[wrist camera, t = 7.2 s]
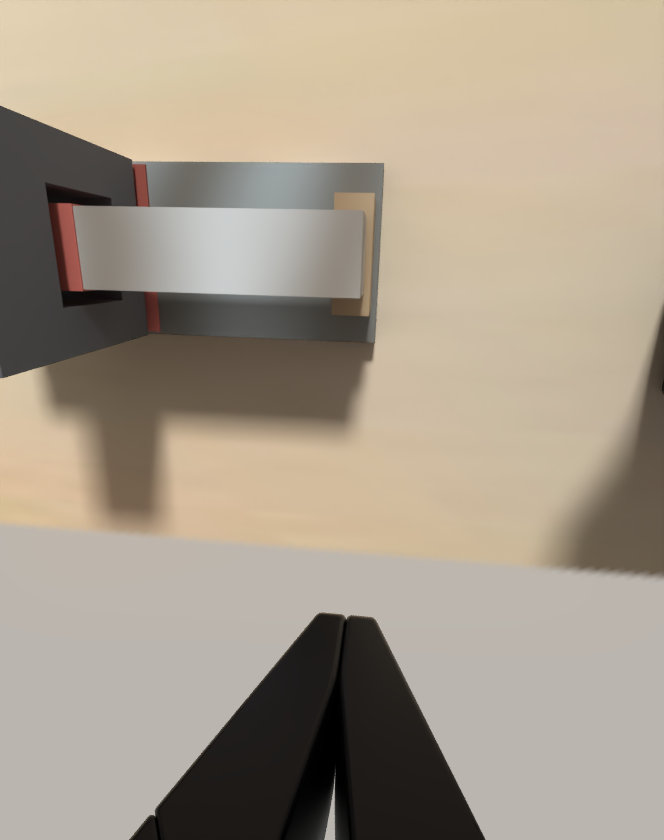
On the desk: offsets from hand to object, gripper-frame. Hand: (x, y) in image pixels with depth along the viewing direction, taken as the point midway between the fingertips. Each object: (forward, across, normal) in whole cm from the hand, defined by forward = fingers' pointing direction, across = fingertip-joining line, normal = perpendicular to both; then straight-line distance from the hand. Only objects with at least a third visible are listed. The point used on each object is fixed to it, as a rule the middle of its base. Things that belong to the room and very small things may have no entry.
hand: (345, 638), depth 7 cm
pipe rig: (+13, +7, -6) cm, 16 cm away
